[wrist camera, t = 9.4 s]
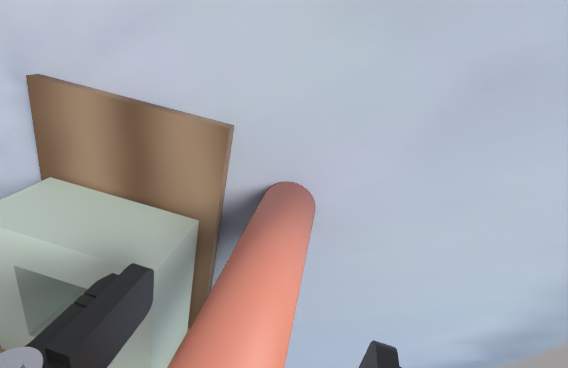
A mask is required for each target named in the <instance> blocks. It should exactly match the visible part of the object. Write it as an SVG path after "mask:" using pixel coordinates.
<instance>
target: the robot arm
mask: <svg viewBox="0 0 568 368" xmlns="http://www.w3.org/2000/svg"><path fill="white" fill-rule="evenodd" d="M153 292H154V270H153V269H151V268H147V267H144V266H141V265H138V264H135V263H132V264H130V265H129V266H127V267H126V268H125V269H124V270H123V271H122V272H121V273H120V274H119V275H117V274H114V273H111V274H109V275H107V276H105V277H103V278H101V279H100V280H98V281H96V282H95V283H94V284H93V285H92V286H91V287H90V288H88V289H87V290H86V291H85V292H84V294H83V295H81V296H80V297H79V298H78V299H77V300H75V301H74V303H73V304H71V305H70V306H69V307H68V308H67V309H66V310H65V311H64V312H62V313H61V314H60V315H59V316H58V317H57V318H56V319H55V320H54V321H53V322H52V323H50V324H49V325H48V326H47V327H46V328H45V329H44V330H43V331H42V332H41V333H40V334H39V335H37V336H36V337H35V338H34V339H33V340H32V341H31V342H30V343H28V344H27V345H26V346H24V347H17V348H13V349H9V350H7V351H4V352H2V353H0V368H107V367H108V366H109V365H110V363H111V362H112V361H113V359H114V358H115V357H116V355H117V354H118V353H119V351H120V350H121V349H122V347H123V346H124V345H125V344H126V342H127V341H128V340H129V338H130V337H131V336H132V334H133V333H134V332H135V330H136V329H137V328H138V326H139V325H140V324H141V323H142V321H143V320H144V319H145V317H146V316H147V314H148V313H149V311H150V308H151V306H152V303H153ZM359 368H401V367H399V360H398V353H397V349H396V348H395V347H392V346H389V345H386V344H383V343H380V342H377V341H374V340H373V341H372V342H371V343H370V345H369V347H368V349H367V352H366V354H365V356H364V358H363V360H362V362H361V364H360V366H359Z"/></svg>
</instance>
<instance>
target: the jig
mask: <svg viewBox="0 0 568 368" xmlns="http://www.w3.org/2000/svg"><path fill="white" fill-rule="evenodd" d="M26 78H27V85H28V91H29V98H30V105H31V112H32V119H33V126H34V132H35V139H36V146H37V153H38V160H39V167H40V173H41V180H42V181H43V180H45V179H47V178H49V177H52V178H55V179H59V180H62V181H65V182H69V183H72V184H76V185H79V186H83V187H86V188H89V189H93V190H96V191H100V192H103V193H107V194H110V195H113V196H117V197H120V198H124V199H127V200H131V201H134V202H137V203H141V204H144V205H148V206H151V207H155V208H158V209H162V210H165V211H168V212H172V213H175V214H179V215H182V216H186V217H189V218H192V219H196V220H199V226H198V235H197V244H196V254H195V263H194V273H193V282H192V292H191V301H190V310H189V320H188V329H187V333H186V335H185V336H184V338H183V340H182V342H181V344H180V345H179V347H178V349H177V351H176V352H175V354H174V356H173V358H172V360H171V361H170V363H169V365H168V367H167V368H169V366H170V364H171V363H172V361H173V359H174V357H175V355H176V354H177V352H178V350H179V348H180V346H181V345H182V343H183V341H184V339H185V337H186V336H187V334H188V332H189V330H190V328H191V326H192V325H193V323H194V321H195V319H196V317H197V316H198V314H199V312H200V310H201V308H202V307H203V305H204V303H205V301H206V299H207V298H208V296H209V294H210V291H211V284H212V277H213V270H214V263H215V256H216V249H217V242H218V235H219V228H220V221H221V214H222V207H223V200H224V193H225V186H226V179H227V172H228V165H229V158H230V151H231V144H232V137H233V130H234V125H230V124H226V123H223V122H219V121H215V120H211V119H207V118H204V117H200V116H196V115H192V114H188V113H185V112H181V111H177V110H173V109H169V108H166V107H162V106H158V105H154V104H150V103H147V102H143V101H139V100H135V99H131V98H128V97H124V96H120V95H116V94H112V93H109V92H105V91H101V90H97V89H93V88H90V87H86V86H82V85H78V84H74V83H71V82H67V81H63V80H59V79H55V78H52V77H48V76H44V75H40V74H35V75H26ZM4 351H7V350H4V349H1V345H0V353H2V352H4Z"/></svg>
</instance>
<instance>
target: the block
mask: <svg viewBox="0 0 568 368" xmlns="http://www.w3.org/2000/svg"><path fill="white" fill-rule="evenodd" d="M198 226H199V220H196V219H192V218H189V217H186V216H182V215H179V214H175V213H172V212H168V211H165V210H162V209H158V208H155V207H151V206H148V205H144V204H141V203H137V202H134V201H131V200H127V199H124V198H120V197H117V196H113V195H110V194H107V193H103V192H100V191H96V190H93V189H89V188H86V187H83V186H79V185H76V184H72V183H69V182H65V181H62V180H59V179H55V178H52V177H49V178H47V179H45V180H43V181H41V182H38V183H36V184H34V185H32V186H29V187H27V188H25V189H23V190H21V191H18V192H16V193H14V194H12V195H10V196H7V197H5V198H3V199H1V200H0V345H1V349H4V350H9V349H13V348H17V347H24V346H26V345H27V344H28V343H30V342H31V341H32V340H33V339H34V338H35V337H36V336H37V335H39V334H40V333H41V332H42V331H43V330H44V329H45V328H46V327H47V326H48V325H49V324H50V323H52V322H53V321H54V320H55V319H56V318H57V317H58V316H59V315H60V314H61V313H62V312H64V311H65V310H66V309H67V308H68V307H69V306H70V305H71V304H73V303H74V301H75V300H77V299H78V298H79V297H80V296H81V295H83V294H84V292H85V291H86V290H87V289H88V288H90V287H91V286H92V285H93V284H94V283H95V282H96V281H98V280H100V279H101V278H103V277H105V276H107V275H109V274H111V273H114V274H117V275H119V274H120V273H121V272H122V271H123V270H124V269H125V268H126V267H127V266H129V265H130V264H132V263H135V264H138V265H141V266H144V267H147V268H151V269H153V270H154V292H153V303H152V306H151V308H150V311H149V313H148V314H147V316H146V317H145V319H144V320H143V321H142V323H141V324H140V325H139V326H138V328H137V329H136V330H135V332H134V333H133V334H132V336H131V337H130V338H129V340H128V341H127V342H126V344H125V345H124V346H123V347H122V349H121V350H120V351H119V353H118V354H117V355H116V357H115V358H114V359H113V361H112V362H111V363H110V365H109V366H108V367H107V368H167V367H168V365H169V363H170V361H171V360H172V358H173V356H174V354H175V352H176V351H177V349H178V347H179V345H180V344H181V342H182V340H183V338H184V336H185V335H186V333H187V329H188V320H189V310H190V301H191V292H192V282H193V273H194V263H195V254H196V244H197V235H198Z"/></svg>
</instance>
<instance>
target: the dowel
mask: <svg viewBox="0 0 568 368" xmlns="http://www.w3.org/2000/svg"><path fill="white" fill-rule="evenodd" d="M314 214H315V202H314V199H313V197H312V195H311V194H310V192H309V191H308V190H307V189H306V188H304V187H303V186H301V185H299V184H297V183H293V182H280V183H277V184H274V185H273V186H271V187H270V188H269V189H268V190H267V191H266V193H265V194H264V196H263V198H262V200H261V202H260V203H259V205H258V207H257V209H256V211H255V212H254V214H253V216H252V218H251V220H250V222H249V223H248V225H247V227H246V229H245V231H244V232H243V234H242V236H241V238H240V240H239V241H238V243H237V245H236V247H235V249H234V250H233V252H232V254H231V256H230V258H229V260H228V261H227V263H226V265H225V267H224V269H223V270H222V272H221V274H220V276H219V278H218V279H217V281H216V283H215V285H214V287H213V288H212V290H211V292H210V294H209V296H208V298H207V299H206V301H205V303H204V305H203V307H202V308H201V310H200V312H199V314H198V316H197V317H196V319H195V321H194V323H193V325H192V326H191V328H190V330H189V332H188V334H187V336H186V337H185V339H184V341H183V343H182V345H181V346H180V348H179V350H178V352H177V354H176V355H175V357H174V359H173V361H172V363H171V364H170V366H169V368H284V366H285V361H286V356H287V351H288V346H289V341H290V336H291V330H292V325H293V320H294V315H295V310H296V305H297V300H298V295H299V290H300V285H301V280H302V275H303V270H304V265H305V259H306V254H307V249H308V244H309V239H310V234H311V229H312V224H313V219H314Z"/></svg>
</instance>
